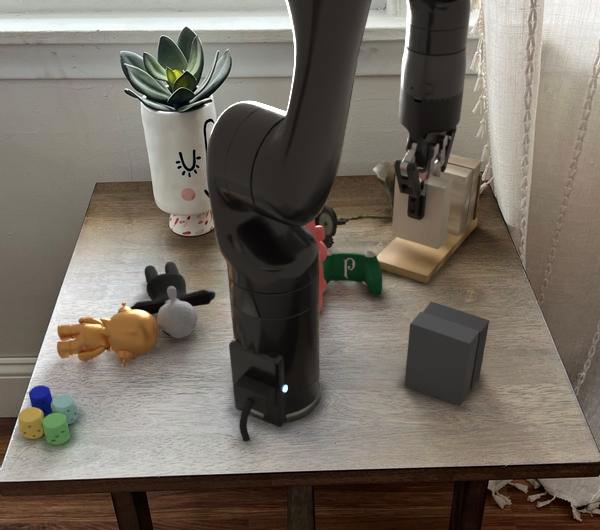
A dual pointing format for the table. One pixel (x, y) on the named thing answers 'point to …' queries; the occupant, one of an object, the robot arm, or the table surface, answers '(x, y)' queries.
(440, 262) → the book shelf
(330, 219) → the artificial flower
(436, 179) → the cream book
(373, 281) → the gaming controller
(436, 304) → the grey books
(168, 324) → the figurine
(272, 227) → the robot arm
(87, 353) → the figurine
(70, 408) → the multicoloured cylinder cluster
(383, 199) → the table surface
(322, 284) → the figurine
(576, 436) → the table surface
